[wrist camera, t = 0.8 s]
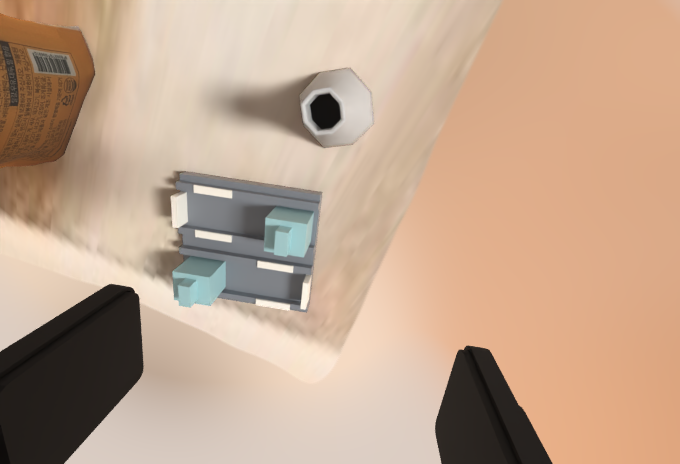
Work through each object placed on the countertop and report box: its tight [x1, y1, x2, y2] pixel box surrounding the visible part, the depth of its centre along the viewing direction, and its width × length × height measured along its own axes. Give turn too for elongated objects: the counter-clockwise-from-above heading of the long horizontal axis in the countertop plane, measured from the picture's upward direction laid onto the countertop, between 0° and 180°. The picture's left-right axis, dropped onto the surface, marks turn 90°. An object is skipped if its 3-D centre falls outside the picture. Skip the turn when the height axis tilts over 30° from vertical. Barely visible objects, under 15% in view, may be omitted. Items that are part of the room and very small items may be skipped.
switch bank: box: [171, 171, 322, 312], centre depth 37 cm, size 14×15×3 cm
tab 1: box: [172, 256, 226, 307], centre depth 36 cm, size 4×4×6 cm
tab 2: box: [264, 206, 314, 257], centre depth 33 cm, size 4×4×6 cm
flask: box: [299, 68, 374, 148], centre depth 28 cm, size 7×7×10 cm
